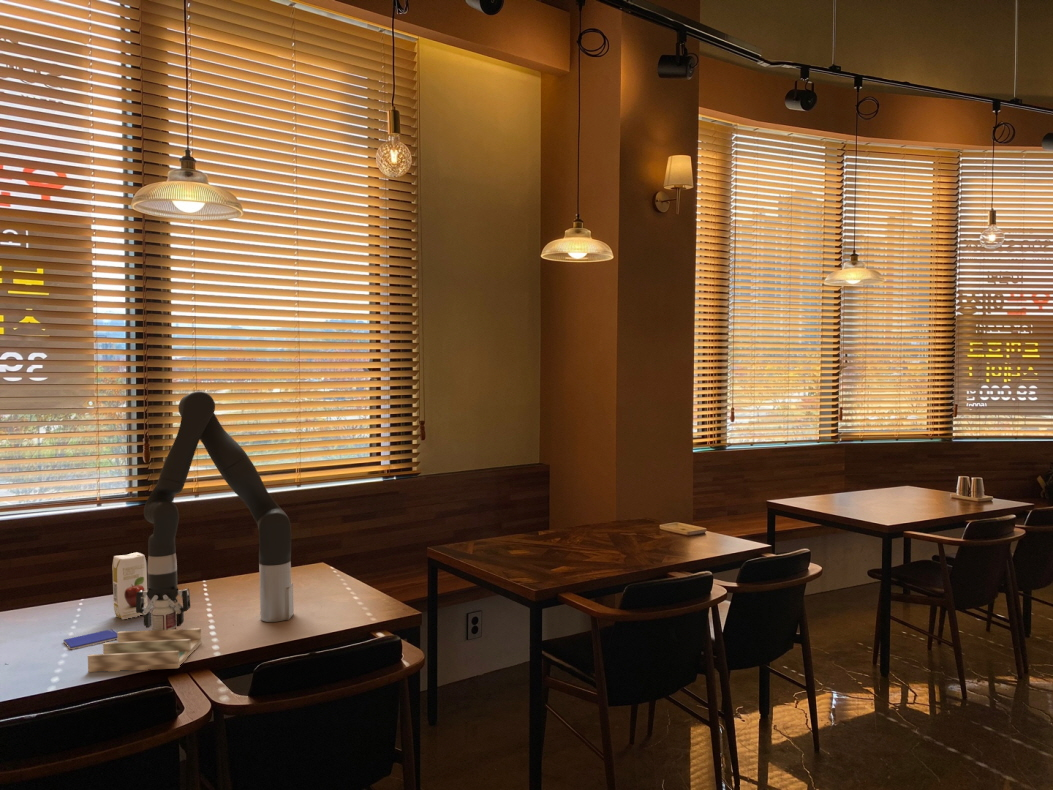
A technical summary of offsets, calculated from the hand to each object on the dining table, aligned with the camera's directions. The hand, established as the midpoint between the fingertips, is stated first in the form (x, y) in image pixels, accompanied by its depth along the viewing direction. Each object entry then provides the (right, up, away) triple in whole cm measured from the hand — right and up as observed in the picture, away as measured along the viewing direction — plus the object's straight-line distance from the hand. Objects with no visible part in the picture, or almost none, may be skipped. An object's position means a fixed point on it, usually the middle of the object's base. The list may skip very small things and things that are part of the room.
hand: (163, 626), depth 220 cm
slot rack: (+3, -4, -15) cm, 15 cm away
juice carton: (-20, -3, +20) cm, 29 cm away
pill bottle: (0, -3, 0) cm, 3 cm away
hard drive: (-20, -4, -2) cm, 20 cm away
